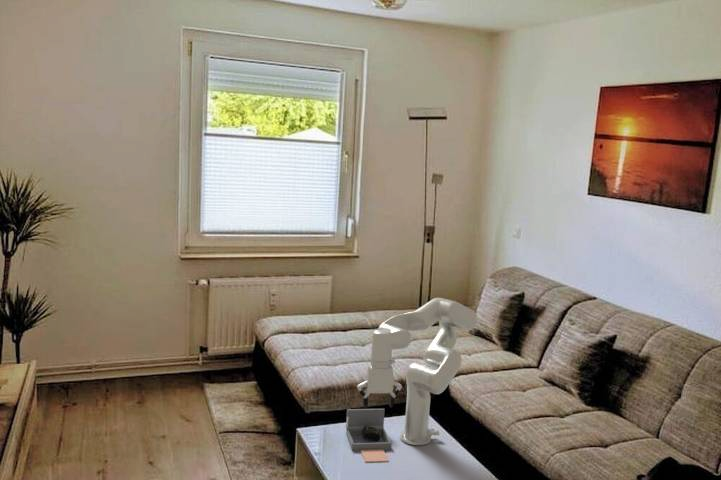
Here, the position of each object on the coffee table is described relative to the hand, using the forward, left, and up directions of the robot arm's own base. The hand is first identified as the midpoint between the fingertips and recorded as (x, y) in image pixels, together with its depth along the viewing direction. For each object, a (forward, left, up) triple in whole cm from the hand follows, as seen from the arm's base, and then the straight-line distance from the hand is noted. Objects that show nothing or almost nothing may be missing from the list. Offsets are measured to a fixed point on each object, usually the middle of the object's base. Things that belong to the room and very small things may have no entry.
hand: (378, 406), depth 230 cm
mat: (0, 0, -20) cm, 20 cm away
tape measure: (+1, -11, -19) cm, 23 cm away
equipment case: (0, -12, -20) cm, 23 cm away
